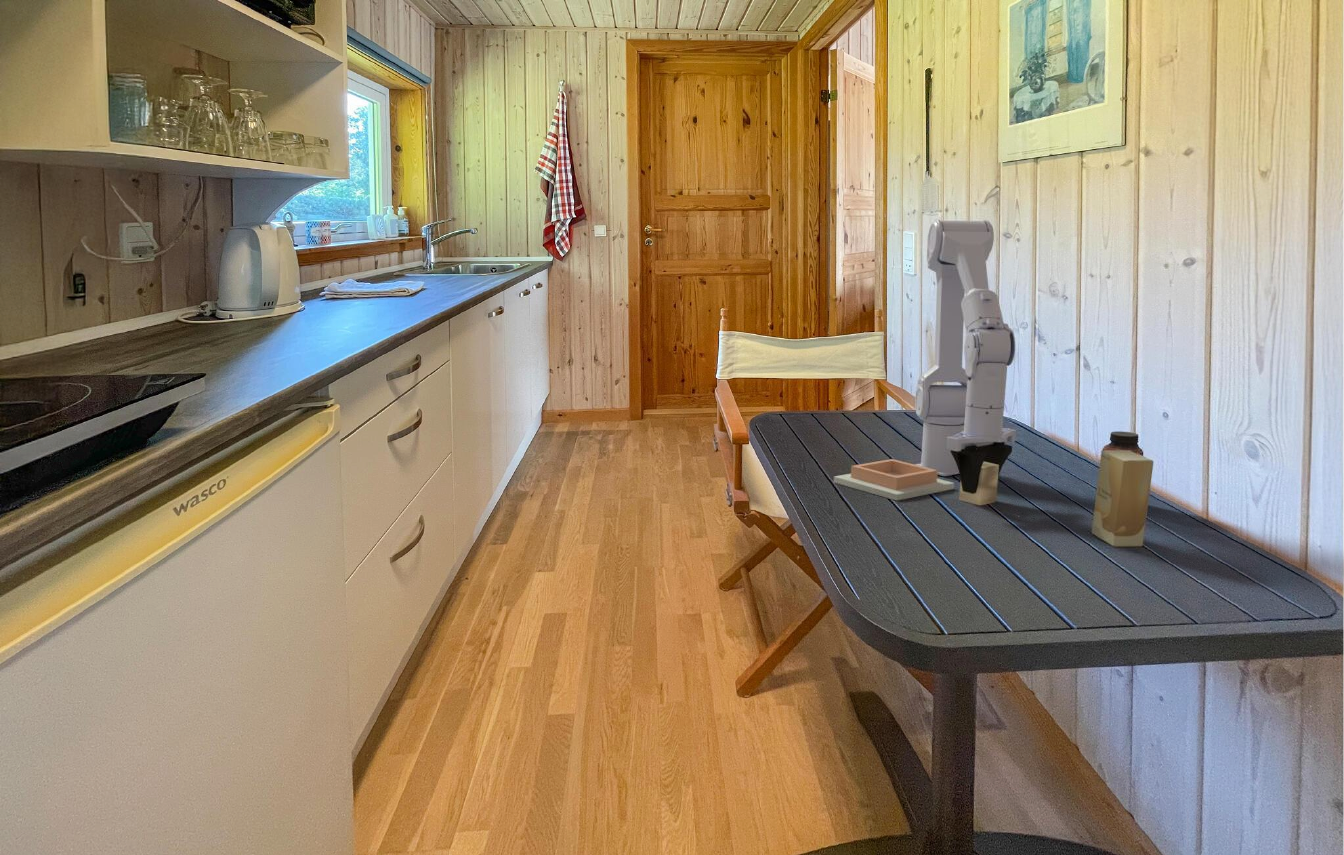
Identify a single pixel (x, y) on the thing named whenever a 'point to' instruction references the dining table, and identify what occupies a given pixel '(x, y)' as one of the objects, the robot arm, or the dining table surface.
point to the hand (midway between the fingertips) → (978, 490)
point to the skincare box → (1122, 497)
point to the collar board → (894, 479)
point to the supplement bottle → (1124, 442)
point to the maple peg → (983, 486)
